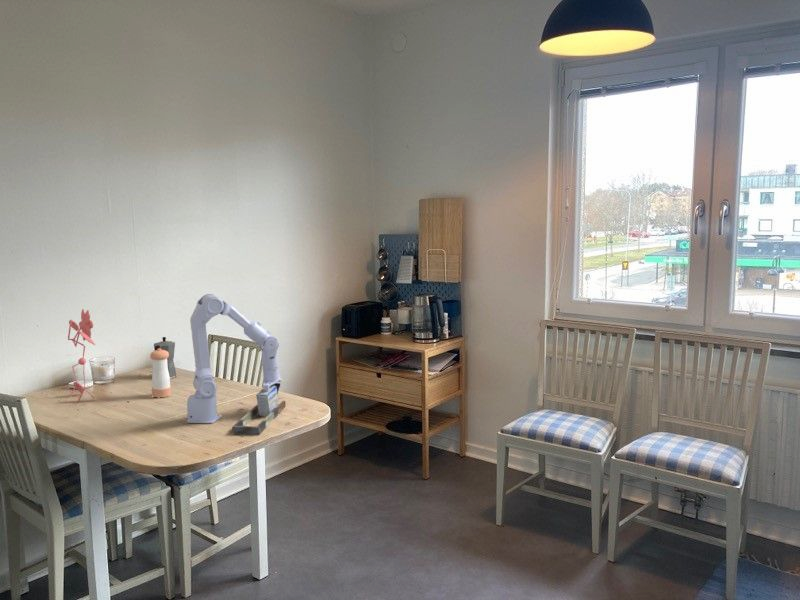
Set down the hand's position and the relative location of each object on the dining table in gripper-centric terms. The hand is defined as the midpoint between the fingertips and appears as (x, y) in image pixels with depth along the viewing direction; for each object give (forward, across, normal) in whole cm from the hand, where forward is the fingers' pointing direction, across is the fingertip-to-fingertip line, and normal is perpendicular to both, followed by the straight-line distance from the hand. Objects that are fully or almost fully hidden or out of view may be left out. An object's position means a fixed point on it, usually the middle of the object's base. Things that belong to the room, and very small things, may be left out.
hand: (273, 403), depth 238 cm
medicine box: (+2, -4, 0) cm, 5 cm away
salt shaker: (+1, +13, +50) cm, 52 cm away
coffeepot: (+2, +40, +62) cm, 74 cm away
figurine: (0, +10, +77) cm, 77 cm away
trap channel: (+2, -12, +1) cm, 12 cm away
